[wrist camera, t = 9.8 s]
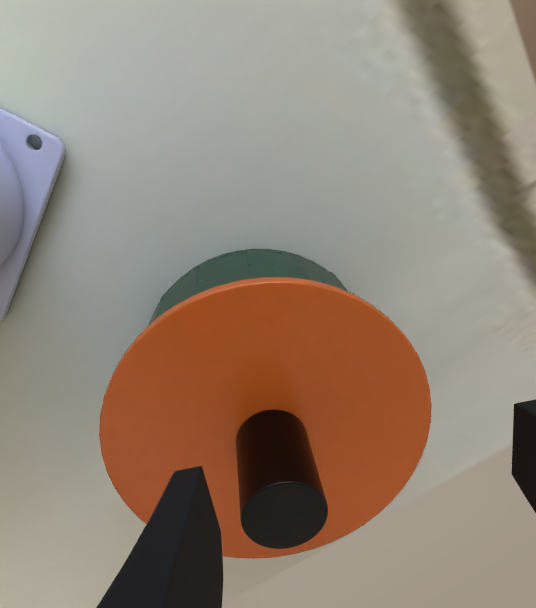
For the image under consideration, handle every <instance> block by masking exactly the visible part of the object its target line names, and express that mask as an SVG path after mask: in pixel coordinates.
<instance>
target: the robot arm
mask: <svg viewBox="0 0 536 608" xmlns="http://www.w3.org/2000/svg"><path fill="white" fill-rule="evenodd" d="M33 135H37V136H38V137H39V138H40V139H41V141H42V147H41V148H40V149H39V150H37V149H35V148H34V147H32V145H31V143H30V139H31V137H32V136H33ZM65 154H66V149H65V145H64V143H63V142H62V140H61V139H59V138H58V137H57V136H55V135H53V134H51V133H49V132H47V131H45V130H43V129H41V128H39V127H37V126H35V125H33V124H31V123H29V122H27V121H25V120H23V119H21V118H19V117H17V116H15V115H13V114H11V113H9V112H7V111H5V110H3V109H1V108H0V321H1V320H3V319H4V317H5V316H6V314H7V311H8V309H9V306H10V303H11V301H12V298H13V295H14V293H15V290H16V287H17V284H18V282H19V279H20V276H21V274H22V271H23V268H24V266H25V263H26V260H27V258H28V255H29V252H30V249H31V247H32V244H33V241H34V239H35V236H36V233H37V231H38V228H39V225H40V222H41V220H42V217H43V214H44V212H45V209H46V206H47V204H48V201H49V198H50V195H51V193H52V190H53V187H54V185H55V182H56V179H57V177H58V174H59V171H60V168H61V166H62V163H63V160H64V158H65ZM512 453H513V454H512V475H513V477H514V479H515V480H516V482H517V483H518V485H519V487H520V489H521V490H522V492H523V494H524V495H525V497H526V498H527V500H528V502H529V503H530V505H531V506H532V508H533V509H534V511H535V512H536V400H531V401H526V402H521V403H516V404H514V423H513V451H512ZM222 592H223V560H222V538H221V530H220V526H219V523H218V519H217V516H216V512H215V509H214V506H213V502H212V499H211V495H210V492H209V488H208V485H207V481H206V478H205V475H204V471H203V468H202V466H198V467H193V468H188V469H183V470H177V471H175V472H174V473H173V475H172V476H171V478H170V480H169V482H168V484H167V486H166V488H165V490H164V492H163V494H162V496H161V498H160V500H159V502H158V504H157V506H156V508H155V510H154V512H153V514H152V515H151V517H150V519H149V521H148V523H147V525H146V527H145V528H144V530H143V532H142V534H141V535H140V537H139V539H138V541H137V543H136V544H135V546H134V548H133V550H132V551H131V553H130V555H129V557H128V558H127V560H126V562H125V563H124V565H123V567H122V568H121V570H120V571H119V573H118V575H117V576H116V578H115V579H114V581H113V583H112V584H111V586H110V587H109V589H108V590H107V592H106V594H105V595H104V597H103V598H102V600H101V602H100V603H99V605H98V606H97V608H222Z"/></svg>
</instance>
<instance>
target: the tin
mask: <svg viewBox="0 0 536 608" xmlns="http://www.w3.org/2000/svg"><path fill="white" fill-rule="evenodd" d="M262 277H290V278H298V279H307V280H313V281H317V282H321V283H325V284H328V285H332V286H335V287H338V288H340V289H343V290H345V291H347V289H346V288H345V287H344V286H343V285H342V283H341V282H340V281H339V280H338V278H337V277H336V276H335V275H334V274H333V273H331V272H329V271H327V270H326V269H325V268H323V267H321V266H320V265H318V264H316V263H314V262H313V261H311V260H308V259H306V258H304V257H301V256H299V255H296V254H292V253H288V252H285V251H278V250H271V249H249V250H241V251H235V252H231V253H227V254H223V255H220V256H218V257H215V258H213V259H210V260H208V261H206V262H204V263H202V264H200V265H198V266H197V267H195V268H193V269H192V270H190V271H189V272H188V273H186V274H185V275H184V276H182V277H181V278H180V279H179V280H178V281H177V282H176V283H175V284H174V285H173V286H172V287H171V288H170V289H169V290H168V292H166V293H165V294H164V295H163V297H162V298H161V300H160V302H159V304H158V306H157V308H156V310H155V311H154V314H153V316H152V319H151V321H150V323H149V325H150V324H151V323H152V322H153V321H154V320H156V319H157V318H158V317H160V316H161V315H162V314H164V313H165V312H166V311H168V310H169V309H170V308H172V307H173V306H175V305H177V304H179V303H181V302H182V301H184V300H186V299H188V298H190V297H192V296H193V295H196V294H198V293H201V292H203V291H206V290H209V289H211V288H214V287H216V286H220V285H224V284H228V283H232V282H236V281H239V280H247V279H255V278H262ZM149 325H148V326H149Z"/></svg>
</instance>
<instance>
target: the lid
mask: <svg viewBox="0 0 536 608" xmlns="http://www.w3.org/2000/svg"><path fill="white" fill-rule="evenodd" d="M430 423H431V398H430V389H429V384H428V380H427V377H426V373H425V370H424V367H423V365H422V363H421V361H420V359H419V357H418V354H417V352H416V351H415V349H414V348H413V346H412V345H411V343H410V342H409V340H408V339H407V337H406V336H405V335H404V334H403V333H402V332H401V331H400V330H399V328H398V327H397V326H396V325H395V324H394V323H393V322H392V321H391V320H390V319H389V318H388V317H387V316H386V315H385V314H383V313H382V312H381V311H380V310H378V309H377V308H376V307H375V306H373V305H372V304H370V303H368V302H367V301H365V300H363V299H362V298H360V297H358V296H356V295H355V294H352V293H350V292H348V291H345V290H343V289H340V288H338V287H335V286H332V285H328V284H325V283H321V282H317V281H313V280H307V279H298V278H290V277H262V278H255V279H247V280H239V281H236V282H232V283H228V284H224V285H220V286H216V287H214V288H211V289H209V290H206V291H203V292H201V293H198V294H196V295H193V296H192V297H190V298H188V299H186V300H184V301H182V302H181V303H179V304H177V305H175V306H173V307H172V308H170V309H169V310H168V311H166V312H165V313H164V314H162V315H161V316H160V317H158V318H157V319H156V320H154V321H153V322H152V323H151V324H150V325H149V326H148V327H147V328H146V329H145V330H144V331H143V332H142V333H141V334H140V335H139V336H138V337H137V338H136V339H135V340H134V342H133V343H132V344H131V345H130V347H129V348H128V349H127V351H126V352H125V353H124V355H123V357H122V358H121V360H120V362H119V364H118V365H117V367H116V369H115V371H114V373H113V375H112V378H111V380H110V383H109V385H108V388H107V391H106V393H105V396H104V400H103V405H102V410H101V415H100V434H99V436H100V444H101V452H102V456H103V460H104V463H105V466H106V470H107V473H108V475H109V477H110V479H111V481H112V483H113V485H114V487H115V489H116V490H117V492H118V493H119V495H120V496H121V498H122V499H123V501H124V502H125V503H126V505H127V506H128V507H129V508H130V509H131V510H132V511H133V512H134V513H135V514H136V515H137V516H138V517H139V518H140V519H141V520H142V521H144V522H145V523H146V524H147V523H148V521H149V519H150V517H151V515H152V514H153V512H154V510H155V508H156V506H157V504H158V502H159V500H160V498H161V496H162V494H163V492H164V490H165V488H166V486H167V484H168V482H169V480H170V478H171V476H172V475H173V473H174V472H175V471H177V470H183V469H188V468H193V467H198V466H202V468H203V471H204V475H205V478H206V481H207V485H208V488H209V492H210V495H211V499H212V502H213V506H214V509H215V512H216V516H217V519H218V523H219V526H220V530H221V538H222V556H226V557H235V558H269V557H279V556H285V555H291V554H296V553H300V552H304V551H307V550H311V549H315V548H317V547H320V546H323V545H325V544H328V543H331V542H333V541H335V540H337V539H339V538H341V537H343V536H345V535H347V534H349V533H351V532H352V531H354V530H356V529H357V528H359V527H361V526H362V525H364V524H365V523H367V522H368V521H369V520H371V519H372V518H373V517H375V516H376V515H377V514H379V513H380V512H381V511H382V510H383V509H384V508H385V507H386V506H387V505H388V504H389V503H390V502H391V501H392V500H393V499H394V498H395V497H396V496H397V494H398V493H399V492H400V491H401V490H402V489H403V487H404V486H405V484H406V483H407V481H408V480H409V478H410V477H411V476H412V474H413V473H414V471H415V469H416V467H417V465H418V463H419V461H420V459H421V457H422V454H423V451H424V448H425V445H426V442H427V439H428V433H429V428H430Z"/></svg>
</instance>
